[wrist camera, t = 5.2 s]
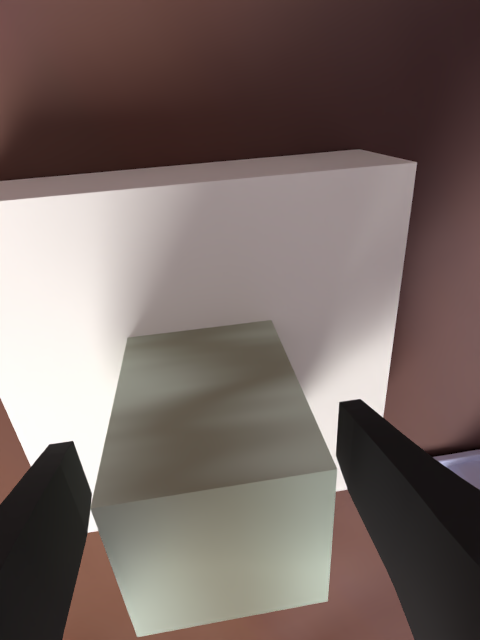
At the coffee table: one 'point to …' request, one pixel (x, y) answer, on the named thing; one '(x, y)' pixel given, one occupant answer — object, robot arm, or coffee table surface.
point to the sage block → (213, 480)
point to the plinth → (198, 280)
